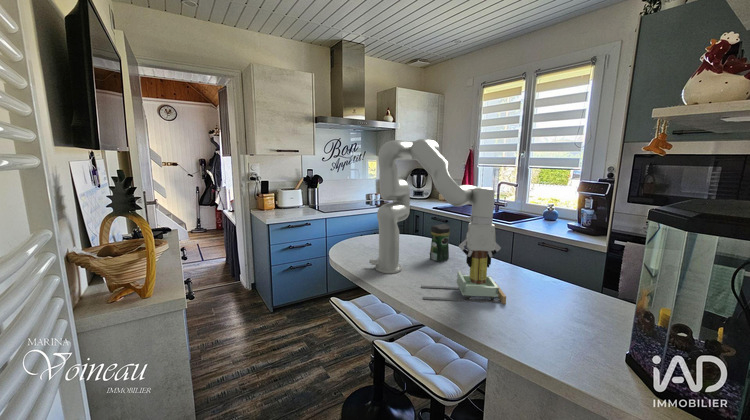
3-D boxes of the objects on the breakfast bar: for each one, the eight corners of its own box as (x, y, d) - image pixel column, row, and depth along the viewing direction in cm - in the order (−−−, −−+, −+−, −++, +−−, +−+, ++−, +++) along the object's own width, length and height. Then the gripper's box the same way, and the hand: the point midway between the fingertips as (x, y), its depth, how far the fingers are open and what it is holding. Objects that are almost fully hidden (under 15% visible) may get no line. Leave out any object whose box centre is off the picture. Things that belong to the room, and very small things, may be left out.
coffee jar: (440, 255, 164) (442, 222, 160) (451, 260, 157) (453, 225, 153) (426, 258, 159) (428, 224, 155) (437, 263, 152) (438, 227, 149)
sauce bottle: (485, 279, 119) (490, 230, 115) (486, 286, 113) (490, 234, 109) (468, 277, 121) (472, 229, 117) (468, 283, 115) (472, 233, 111)
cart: (462, 299, 113) (463, 282, 112) (456, 286, 124) (457, 270, 122) (497, 300, 112) (499, 283, 111) (488, 287, 123) (490, 272, 122)
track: (423, 300, 113) (423, 293, 113) (420, 285, 126) (421, 278, 125) (505, 304, 111) (506, 296, 110) (494, 288, 124) (495, 281, 123)
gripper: (460, 221, 109) (457, 268, 113) (509, 223, 108) (504, 270, 112) (456, 217, 117) (453, 261, 120) (501, 218, 116) (497, 263, 119)
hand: (478, 265), depth 116 cm, fingers closed on sauce bottle, 6 cm apart
